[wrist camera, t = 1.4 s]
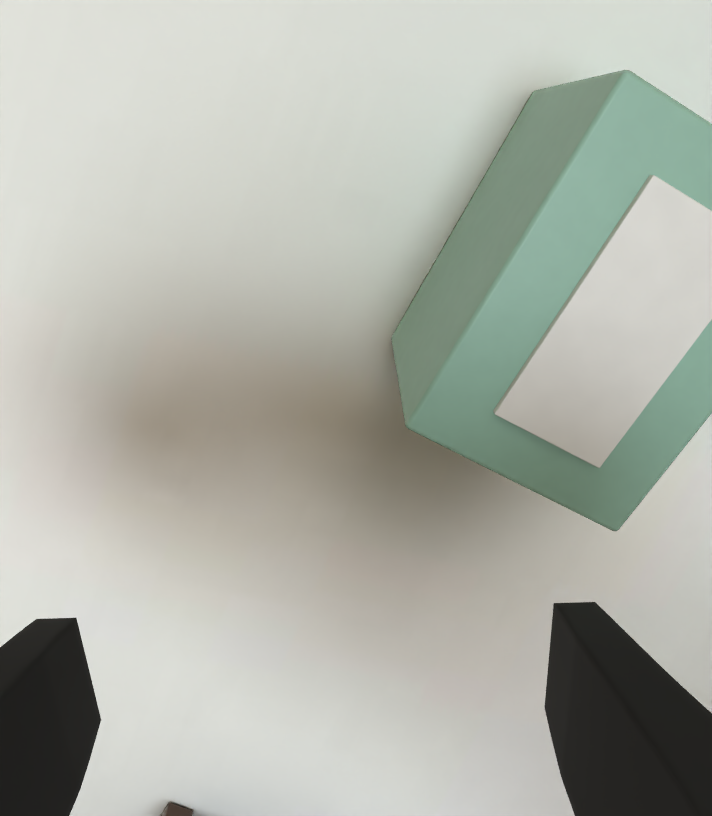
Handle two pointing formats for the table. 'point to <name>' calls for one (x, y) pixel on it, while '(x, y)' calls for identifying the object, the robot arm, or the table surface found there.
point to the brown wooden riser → (176, 811)
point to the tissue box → (574, 301)
